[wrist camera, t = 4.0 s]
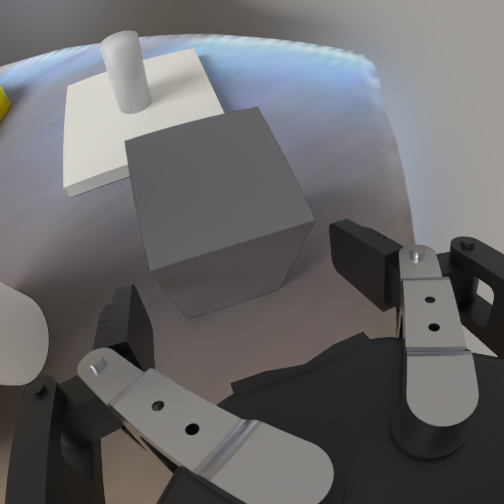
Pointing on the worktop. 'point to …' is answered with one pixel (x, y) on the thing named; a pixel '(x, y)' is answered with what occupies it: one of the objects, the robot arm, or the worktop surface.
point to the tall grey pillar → (217, 209)
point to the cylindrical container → (21, 338)
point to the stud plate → (115, 128)
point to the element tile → (3, 103)
